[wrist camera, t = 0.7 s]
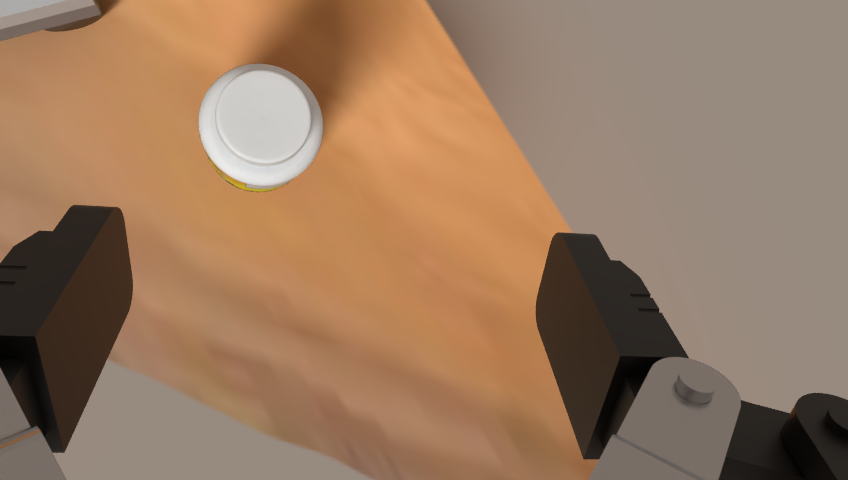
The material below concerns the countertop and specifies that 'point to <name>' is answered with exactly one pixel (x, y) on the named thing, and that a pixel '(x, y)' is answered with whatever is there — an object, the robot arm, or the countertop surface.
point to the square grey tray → (45, 16)
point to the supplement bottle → (260, 126)
